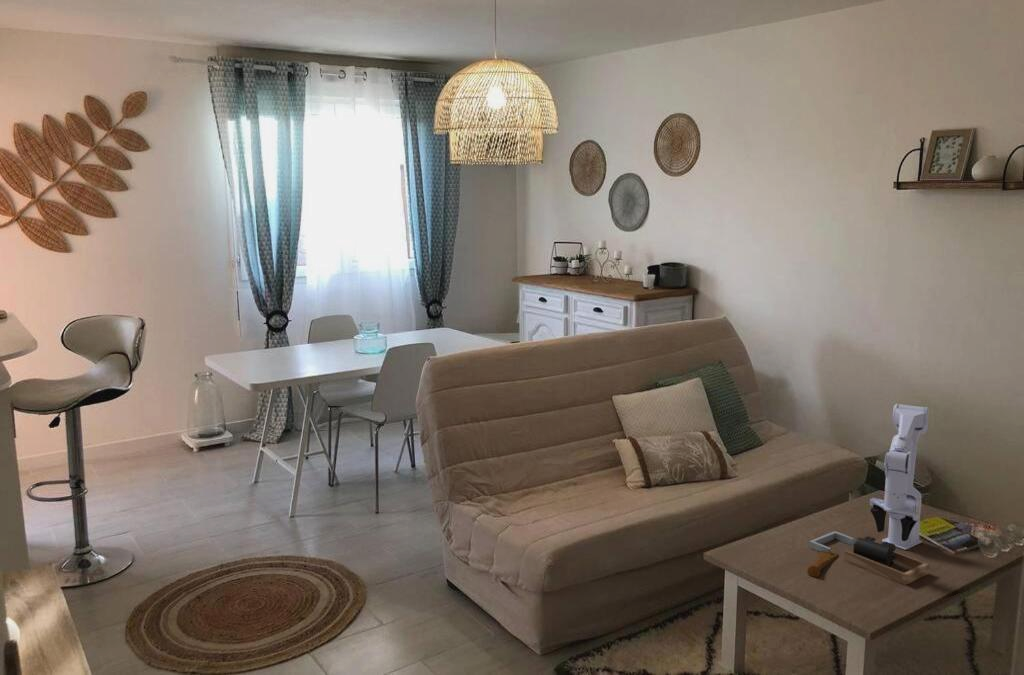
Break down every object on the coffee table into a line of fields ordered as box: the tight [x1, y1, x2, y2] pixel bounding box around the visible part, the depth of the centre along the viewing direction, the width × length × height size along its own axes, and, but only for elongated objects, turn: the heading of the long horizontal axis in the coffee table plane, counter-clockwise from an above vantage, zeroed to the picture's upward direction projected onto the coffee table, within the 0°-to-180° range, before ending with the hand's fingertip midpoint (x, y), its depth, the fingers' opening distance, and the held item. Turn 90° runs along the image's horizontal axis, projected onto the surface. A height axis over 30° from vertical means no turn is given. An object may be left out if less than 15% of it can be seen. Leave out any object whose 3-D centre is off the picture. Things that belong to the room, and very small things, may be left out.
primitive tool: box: [806, 551, 840, 578], centre depth 248 cm, size 19×6×4 cm, turn 148°
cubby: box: [843, 550, 931, 586], centre depth 246 cm, size 12×20×3 cm, turn 34°
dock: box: [808, 530, 855, 554], centre depth 261 cm, size 13×7×2 cm, turn 124°
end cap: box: [852, 535, 897, 567], centre depth 249 cm, size 10×7×7 cm
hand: (892, 535), depth 244 cm, fingers open, 7 cm apart
